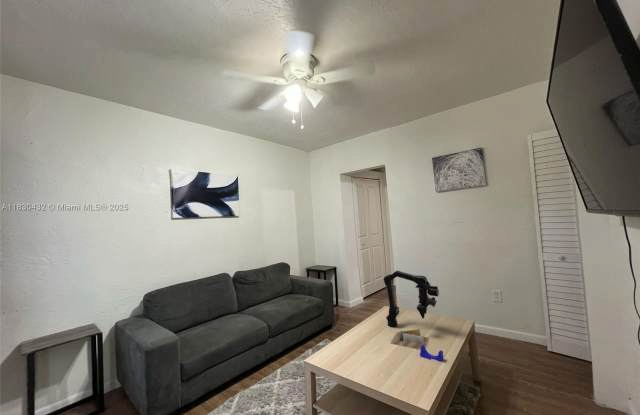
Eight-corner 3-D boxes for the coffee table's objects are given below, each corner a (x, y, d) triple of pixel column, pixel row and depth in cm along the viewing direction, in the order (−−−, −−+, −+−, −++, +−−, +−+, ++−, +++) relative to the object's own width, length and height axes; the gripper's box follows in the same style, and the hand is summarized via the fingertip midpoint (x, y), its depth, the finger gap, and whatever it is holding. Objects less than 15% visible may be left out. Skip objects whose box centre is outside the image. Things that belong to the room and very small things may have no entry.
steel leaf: (399, 340, 173) (399, 331, 174) (400, 339, 175) (399, 330, 175) (423, 345, 165) (422, 336, 166) (423, 344, 167) (423, 334, 167)
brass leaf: (402, 339, 175) (402, 331, 175) (402, 338, 176) (401, 331, 176) (420, 336, 177) (419, 329, 177) (419, 335, 178) (418, 328, 178)
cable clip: (420, 358, 153) (419, 348, 154) (423, 354, 157) (422, 344, 157) (441, 365, 145) (440, 354, 145) (443, 361, 149) (442, 350, 149)
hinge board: (390, 344, 171) (389, 343, 171) (397, 333, 186) (397, 332, 186) (424, 351, 159) (424, 350, 159) (429, 338, 175) (429, 337, 175)
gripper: (433, 299, 171) (434, 323, 171) (436, 291, 187) (438, 313, 187) (416, 297, 177) (417, 320, 176) (420, 290, 193) (421, 310, 192)
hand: (424, 316), depth 183 cm, fingers open, 9 cm apart
